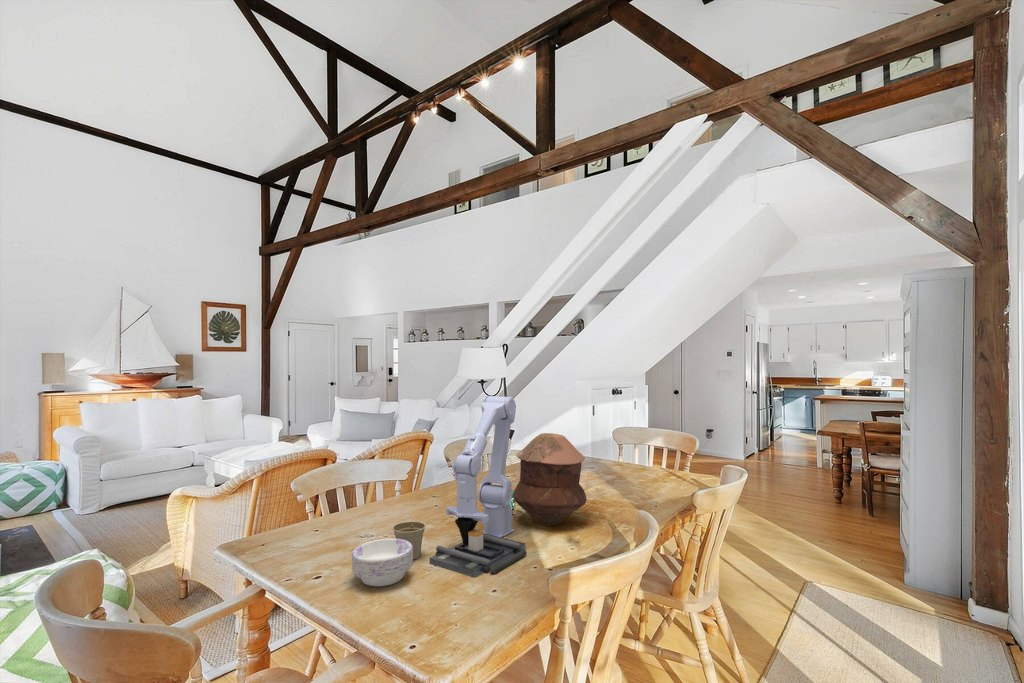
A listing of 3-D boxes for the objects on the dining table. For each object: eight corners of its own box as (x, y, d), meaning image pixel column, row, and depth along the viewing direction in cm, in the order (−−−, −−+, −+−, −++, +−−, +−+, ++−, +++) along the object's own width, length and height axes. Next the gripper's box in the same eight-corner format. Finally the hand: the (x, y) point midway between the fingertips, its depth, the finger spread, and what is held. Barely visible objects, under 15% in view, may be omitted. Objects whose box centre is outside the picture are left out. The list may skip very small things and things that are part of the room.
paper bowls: (343, 576, 132) (343, 545, 132) (397, 562, 141) (397, 533, 141) (365, 599, 119) (365, 564, 120) (423, 581, 129) (423, 549, 129)
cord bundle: (469, 540, 157) (469, 530, 157) (526, 555, 145) (526, 544, 145) (434, 557, 144) (434, 546, 144) (493, 575, 132) (493, 563, 132)
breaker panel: (483, 537, 160) (483, 530, 160) (525, 548, 151) (525, 541, 151) (429, 563, 140) (429, 555, 140) (474, 577, 131) (474, 569, 131)
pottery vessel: (501, 514, 183) (501, 431, 184) (563, 506, 193) (563, 427, 194) (532, 538, 159) (532, 442, 160) (601, 527, 169) (600, 437, 170)
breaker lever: (475, 546, 148) (475, 528, 148) (483, 548, 146) (483, 531, 147) (468, 549, 146) (468, 532, 146) (476, 552, 144) (476, 534, 144)
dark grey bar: (471, 540, 158) (471, 529, 158) (521, 553, 147) (521, 542, 147) (467, 541, 156) (467, 531, 156) (517, 555, 145) (517, 544, 145)
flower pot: (390, 553, 147) (390, 523, 147) (422, 548, 150) (422, 519, 151) (394, 565, 138) (394, 533, 139) (428, 560, 142) (428, 529, 142)
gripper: (439, 495, 149) (439, 542, 149) (477, 503, 141) (477, 552, 140) (455, 490, 155) (455, 535, 155) (492, 497, 147) (492, 545, 146)
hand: (466, 543), depth 148 cm, fingers closed
